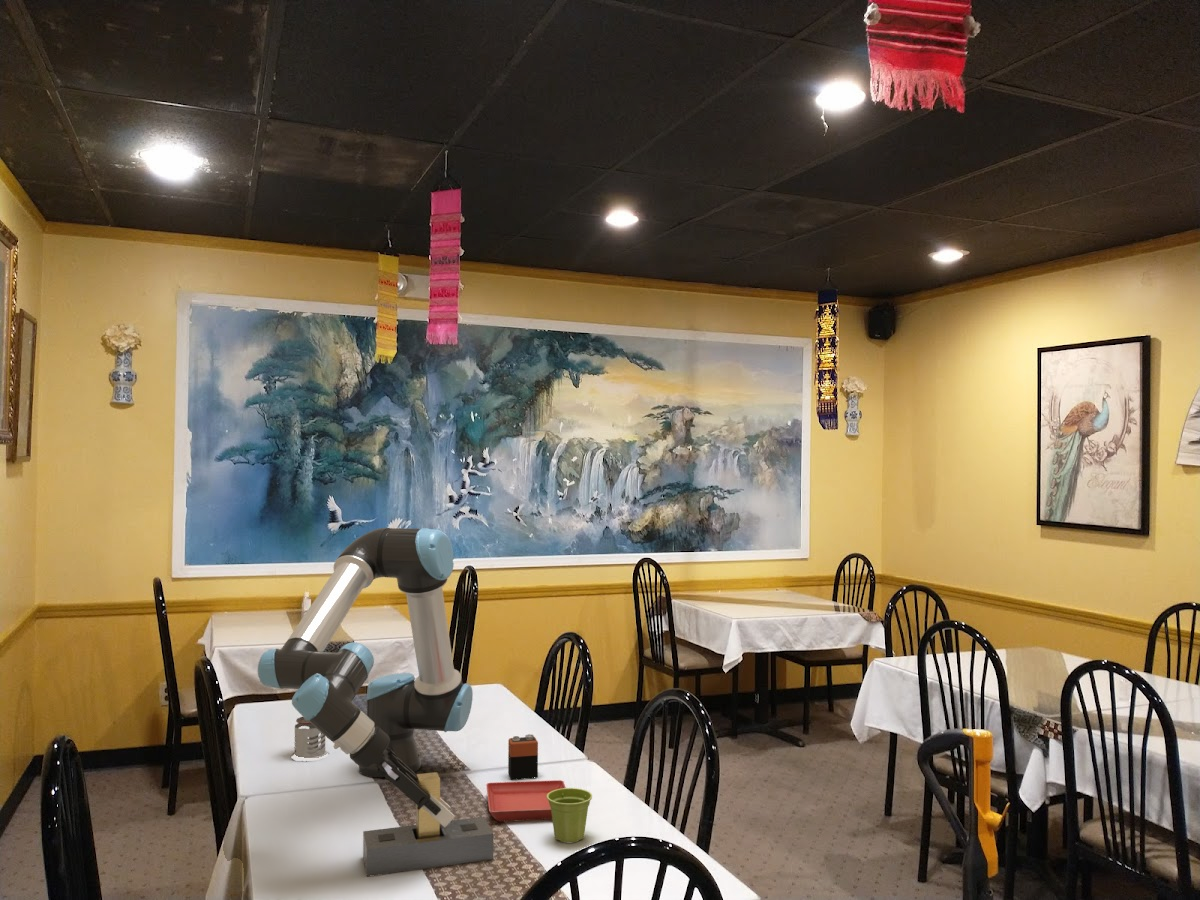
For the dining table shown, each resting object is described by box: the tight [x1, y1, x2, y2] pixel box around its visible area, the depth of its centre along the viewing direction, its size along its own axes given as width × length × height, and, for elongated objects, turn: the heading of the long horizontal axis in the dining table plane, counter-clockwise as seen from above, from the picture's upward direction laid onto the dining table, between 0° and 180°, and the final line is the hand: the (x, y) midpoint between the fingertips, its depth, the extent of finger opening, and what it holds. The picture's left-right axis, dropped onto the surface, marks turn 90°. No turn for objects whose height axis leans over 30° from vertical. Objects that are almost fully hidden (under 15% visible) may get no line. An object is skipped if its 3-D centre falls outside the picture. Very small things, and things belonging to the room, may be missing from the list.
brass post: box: [415, 771, 441, 839], centre depth 180 cm, size 4×4×12 cm
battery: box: [507, 733, 539, 780], centre depth 227 cm, size 4×7×10 cm, turn 104°
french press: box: [293, 716, 329, 758], centre depth 243 cm, size 10×12×25 cm
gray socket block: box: [362, 816, 494, 877], centre depth 180 cm, size 24×9×5 cm, turn 109°
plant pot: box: [547, 787, 593, 844], centre depth 190 cm, size 9×9×9 cm
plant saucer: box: [486, 779, 567, 822], centre depth 207 cm, size 18×18×3 cm
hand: (447, 816), depth 181 cm, fingers closed on brass post, 4 cm apart
